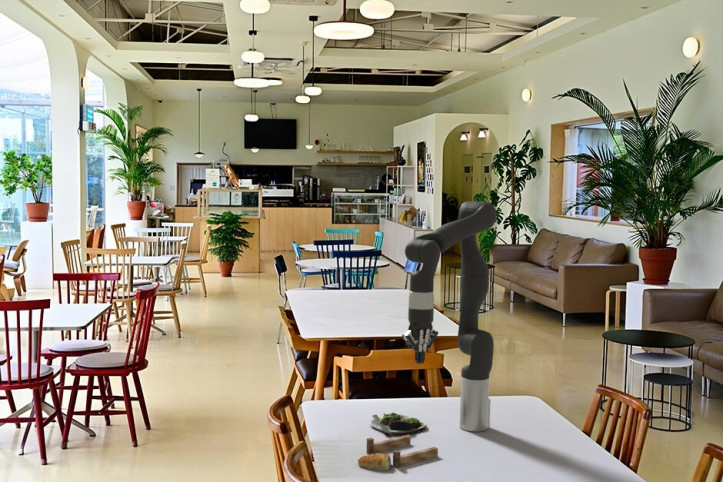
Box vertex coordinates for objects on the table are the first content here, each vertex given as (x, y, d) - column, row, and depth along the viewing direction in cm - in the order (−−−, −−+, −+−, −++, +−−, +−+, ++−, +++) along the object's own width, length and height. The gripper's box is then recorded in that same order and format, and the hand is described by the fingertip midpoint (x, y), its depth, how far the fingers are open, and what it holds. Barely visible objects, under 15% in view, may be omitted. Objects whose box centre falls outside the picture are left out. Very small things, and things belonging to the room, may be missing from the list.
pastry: (356, 469, 213) (356, 456, 213) (359, 461, 220) (360, 448, 220) (389, 472, 212) (389, 458, 212) (391, 463, 219) (392, 450, 218)
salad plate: (354, 424, 253) (355, 411, 253) (394, 415, 264) (394, 402, 264) (392, 440, 238) (393, 426, 238) (433, 429, 249) (433, 416, 249)
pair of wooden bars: (407, 442, 235) (407, 428, 235) (437, 456, 224) (438, 441, 224) (366, 452, 226) (366, 438, 226) (396, 467, 215) (396, 452, 214)
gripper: (429, 302, 232) (427, 358, 233) (396, 306, 224) (394, 363, 226) (446, 306, 226) (444, 363, 227) (412, 310, 218) (410, 368, 220)
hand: (419, 363), depth 226 cm, fingers closed
